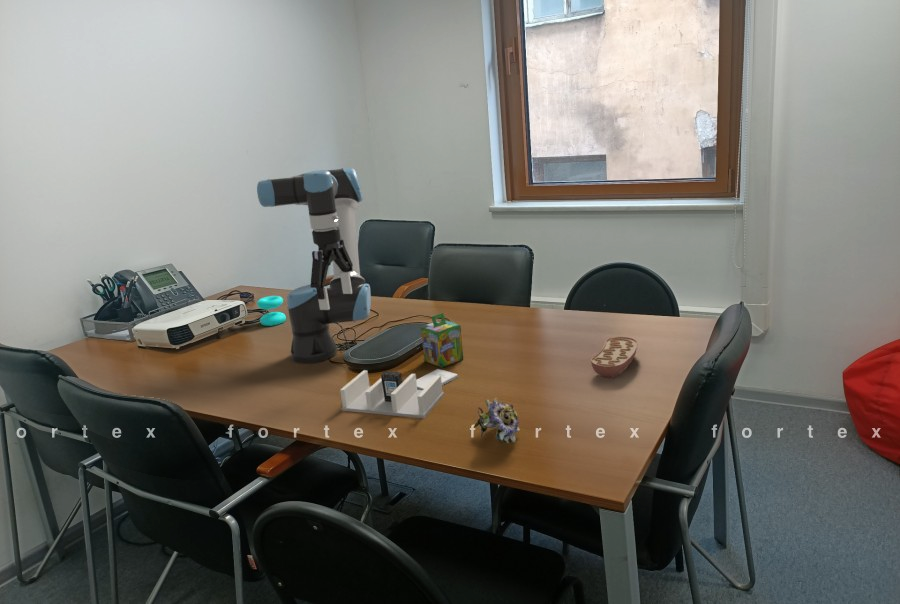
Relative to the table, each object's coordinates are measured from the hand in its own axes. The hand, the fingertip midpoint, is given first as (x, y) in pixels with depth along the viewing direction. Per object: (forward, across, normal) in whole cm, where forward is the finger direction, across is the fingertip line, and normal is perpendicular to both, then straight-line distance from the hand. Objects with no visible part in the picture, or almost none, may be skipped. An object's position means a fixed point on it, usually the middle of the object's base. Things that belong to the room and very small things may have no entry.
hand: (336, 301), depth 181 cm
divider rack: (+24, -13, -20) cm, 34 cm away
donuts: (+28, +47, +58) cm, 80 cm away
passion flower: (+23, -27, -53) cm, 64 cm away
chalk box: (+25, +17, -24) cm, 39 cm away
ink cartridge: (+23, -13, -21) cm, 34 cm away
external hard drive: (+25, +1, -27) cm, 36 cm away
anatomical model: (+24, +18, -76) cm, 82 cm away
